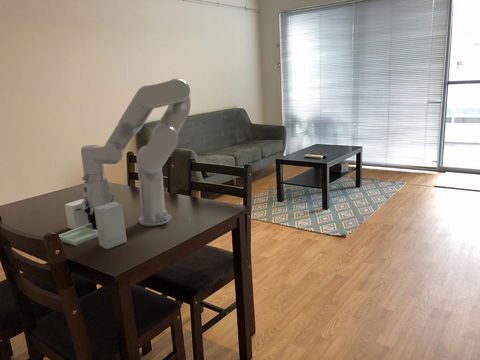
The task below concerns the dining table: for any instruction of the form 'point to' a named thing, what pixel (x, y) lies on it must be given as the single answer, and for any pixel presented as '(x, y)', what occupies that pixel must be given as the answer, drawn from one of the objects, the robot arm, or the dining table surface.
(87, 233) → the tray
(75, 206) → the unit
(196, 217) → the dining table surface
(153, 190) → the robot arm
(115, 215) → the skincare box
